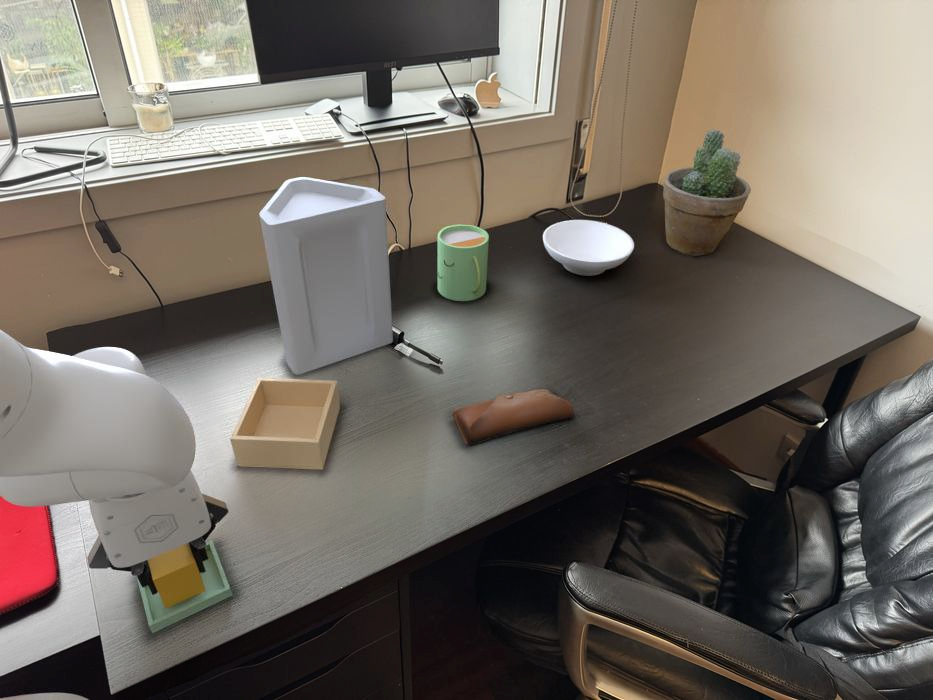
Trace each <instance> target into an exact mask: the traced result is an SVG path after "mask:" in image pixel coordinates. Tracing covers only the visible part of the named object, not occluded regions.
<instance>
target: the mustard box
mask: <svg viewBox="0 0 933 700" xmlns="http://www.w3.org/2000/svg"><path fill="white" fill-rule="evenodd" d="M148 563H149V567H150V570H151V574H152V579H153V582H154V584H155V586H156V589H157V591H158V593H159V595H160V598H161V600H162V602H163V604H164V607H165V609H167V608H169V607H171V606H173V605H176V604H178V603H180V602H182V601H184V600H187V599H189V598H191V597H193V596H195V595H198V594H200V593H202V592H204V591H206V589H205V586H204V583H203V580H202V577H201V574H200V572H199V570H198V567H197V564H196V562H195V559H194V557H193V554H192V552H191V549H190V546H189V543H186V544H184V545H182V546H179V547H177V548H175V549H172V550H170V551H167V552H165V553H163V554H160V555H158V556H155V557H153V558H150V559H148Z"/></svg>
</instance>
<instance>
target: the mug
mask: <svg viewBox="0 0 933 700" xmlns="http://www.w3.org/2000/svg"><path fill="white" fill-rule="evenodd" d="M489 241H490V237H489V233H488V232H487V231H486V230H485V229H483V228H481V227H479V226H477V225H472V224H452V225H449V226H446V227H445V226H444V227H443V228H442V229H440V230H439V231H438V233H437V247H436V249H435V256H437V291H438V293H439V294H440V295H441V296H442V297H444V298H445V299H448V300H451V301H457V302H469V301H474V300H477V299H479V298H481V297H482V296H484V294H485V293H486V292H487V291H486V290H487V279H488V278H487V277H488V260H489V258H488V257H489Z"/></svg>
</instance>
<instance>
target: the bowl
mask: <svg viewBox="0 0 933 700" xmlns="http://www.w3.org/2000/svg"><path fill="white" fill-rule="evenodd" d="M542 241H543V246H544V248H545V250H546V251H547V253H548V254H549V256H550V257H551V258H552V259H553V260H555V261H556V262H558V263H560V264H562V266H563V268H564V269H566V271H568V272H570V273H572V274H576V275H579V276H588V277H589V276H597V275H601V274H603V273H604V272H605V271H606V270H611V269H614V268H616V267H618V266H620V265H622V264H623V263H624V262H626V260H628V259H629V257H630V256H631V254H632V253H633V251H634V249H635V242H634V240H633V238H632V237H631V235H630V234H628V233H627V232H626V231H625V230H623V229H621V228H619V227H617V226H614V225H612V224H609V223H606V222H601V221H596V220H590V219H570V220H564V221H560V222H559V221H558V222H556V223H554V224H551V225H550V226H548V227H547V228H546V229H545V230H544V231H543V234H542Z"/></svg>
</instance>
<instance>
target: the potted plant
mask: <svg viewBox="0 0 933 700" xmlns="http://www.w3.org/2000/svg"><path fill="white" fill-rule="evenodd" d="M704 136H705V137H703V142H702V146H699V147H697V149H696V150H695V155H694V157H693V166H691V167H690V166H689V167H683V168H682V167H681V168H677V169H674V170H671V171H670V172H668V173H667V174H666V175H665V177H664V182H663V190H662V191H663V192H662V197H663V200H664V223H665V240H666V241H665V242H666V244H667V245H668V246H669V247H670V248H671V249H673V250H674V251H676V252H677V253H679V254H683V255H686V256H691V257H699V256H701V257H702V256H707V255H709V254H712V253H713V252H715V250H716V249H717V247H718V246H719V244H720V242H721V241H722V240H723V238H724V236H725V235H726V234H727V233H728V232H729V231H730V230H731V227H732V225H733V223H734V222H735V220H736V218H737V217H738V215H739V213H740V212H742V210H743V209H744V207H745V205H746V202H747V200H748V198H749V195H750V194H751V192H752V189H751V186H750V184H749V183H748V182H747V181H746V180H745V179H743V178H742V177H740V176H738V175H737V172H738V170H739V168H738V167H739V166H740V164H741V160H740V159H741V154H740V153H739V152H735V151H732V150H731V149H730V148H723V146H724V138H725V134H724V133H722V131H720V130H716V129H710V130H708V131H707V132H706V133H705V134H704Z"/></svg>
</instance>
